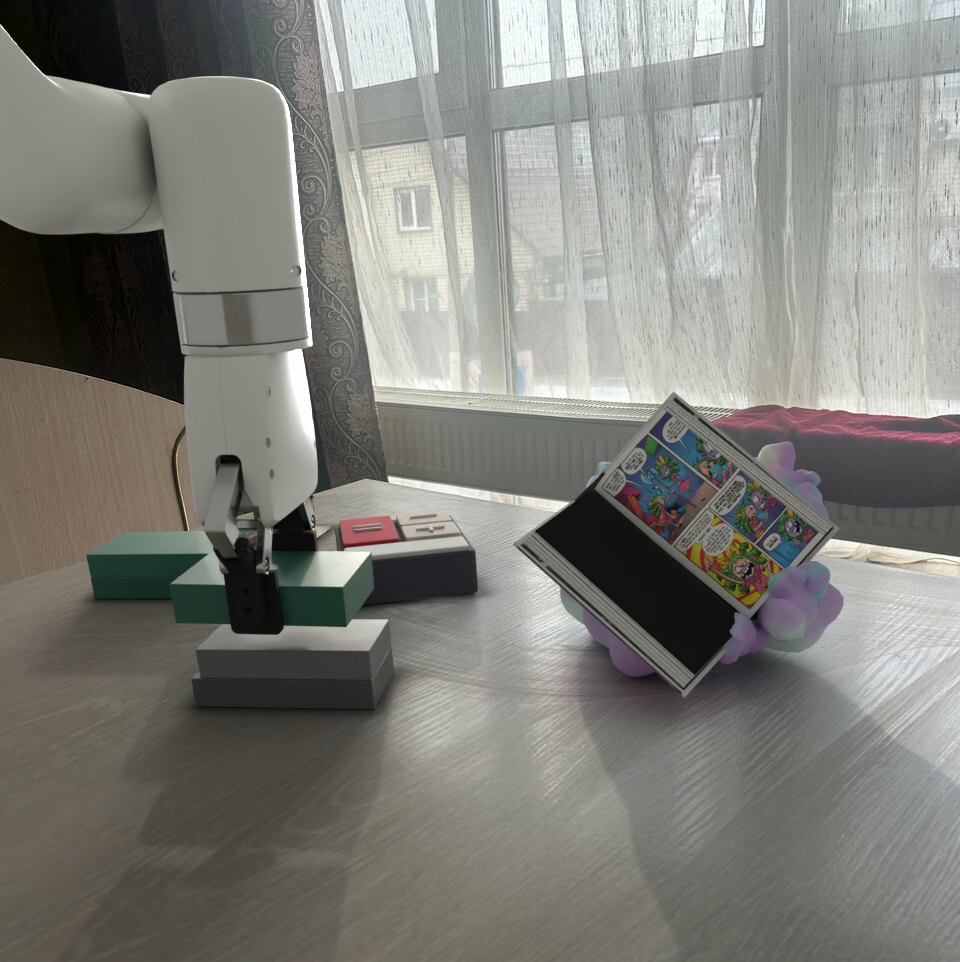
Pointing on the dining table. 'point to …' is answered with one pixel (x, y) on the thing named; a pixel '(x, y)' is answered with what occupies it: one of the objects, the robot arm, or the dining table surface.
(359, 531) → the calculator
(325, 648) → the grey books
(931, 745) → the dining table surface
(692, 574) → the comic strip frame
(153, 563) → the green books
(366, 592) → the slim green book
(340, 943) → the dining table surface
